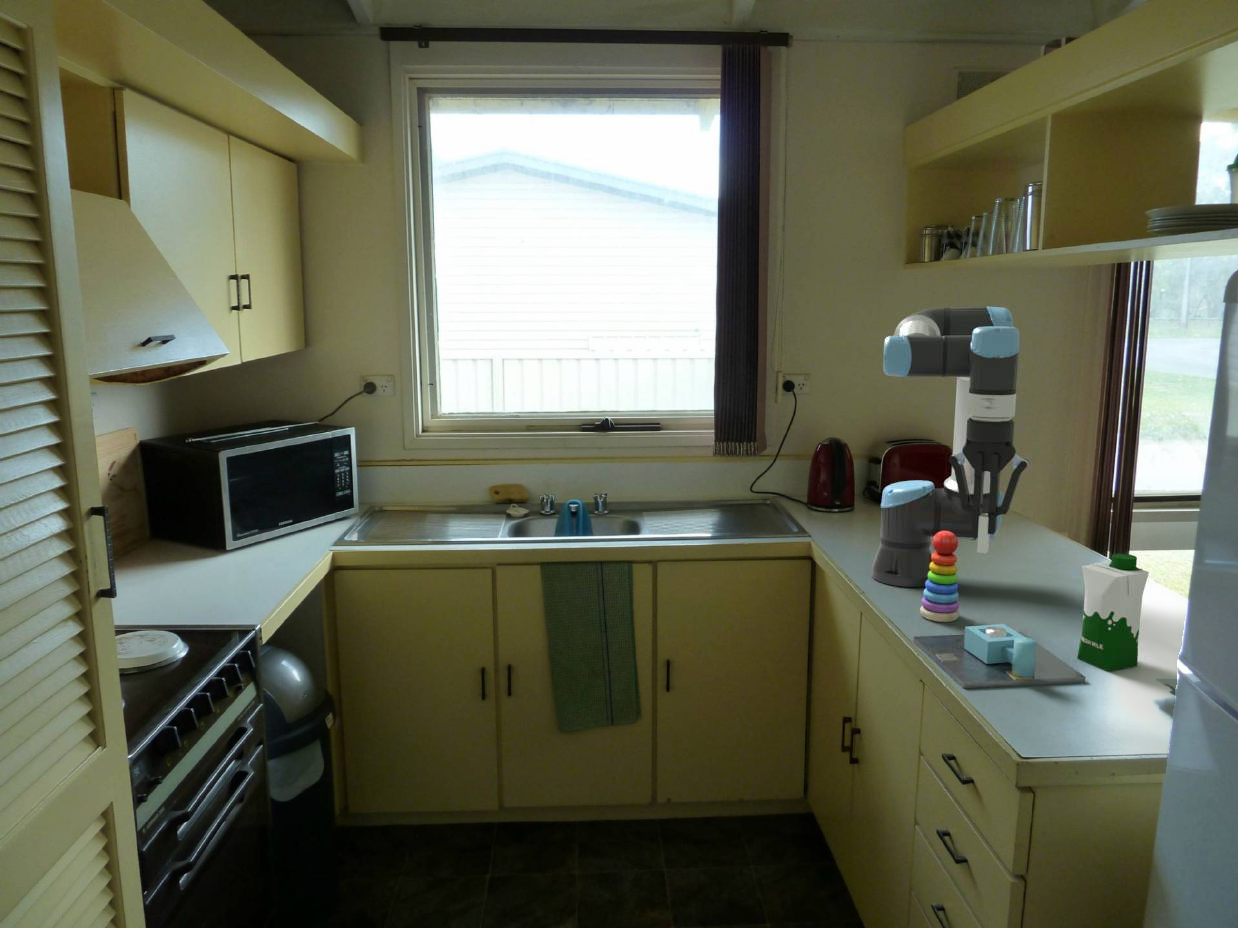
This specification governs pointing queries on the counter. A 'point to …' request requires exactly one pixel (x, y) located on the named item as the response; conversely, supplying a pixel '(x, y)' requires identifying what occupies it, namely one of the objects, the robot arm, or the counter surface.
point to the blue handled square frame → (1002, 648)
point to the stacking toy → (942, 581)
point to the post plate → (980, 674)
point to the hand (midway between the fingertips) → (982, 550)
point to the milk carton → (1112, 613)
